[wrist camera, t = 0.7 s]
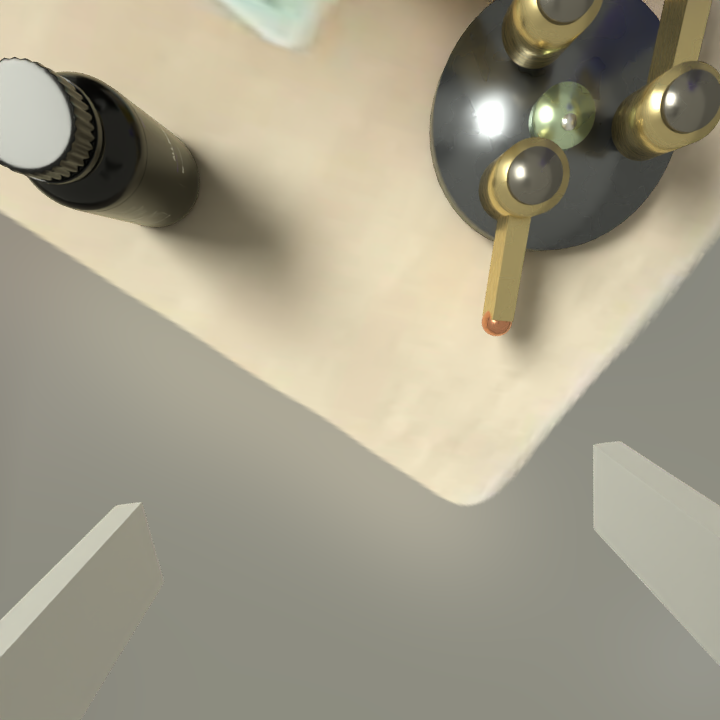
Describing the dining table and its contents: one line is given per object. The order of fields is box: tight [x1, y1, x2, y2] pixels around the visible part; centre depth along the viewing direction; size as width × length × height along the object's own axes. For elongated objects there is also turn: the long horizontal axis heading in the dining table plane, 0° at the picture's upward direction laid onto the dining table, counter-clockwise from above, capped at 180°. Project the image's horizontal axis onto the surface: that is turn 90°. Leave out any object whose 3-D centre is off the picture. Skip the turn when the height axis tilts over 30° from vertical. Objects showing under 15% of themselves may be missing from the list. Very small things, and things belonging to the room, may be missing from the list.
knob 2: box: [611, 0, 720, 161], centre depth 24 cm, size 12×4×4 cm, turn 175°
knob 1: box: [479, 137, 570, 336], centre depth 27 cm, size 12×4×4 cm, turn 175°
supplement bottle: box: [0, 57, 199, 227], centre depth 24 cm, size 7×7×12 cm
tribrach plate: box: [429, 0, 674, 251], centre depth 28 cm, size 17×17×3 cm
